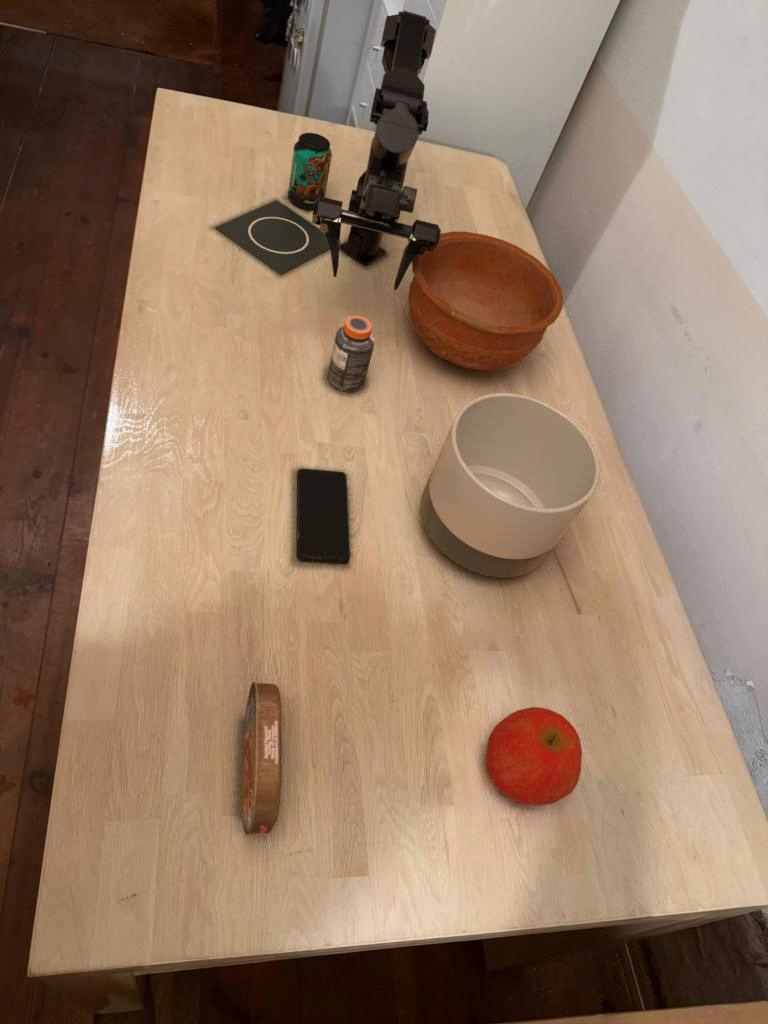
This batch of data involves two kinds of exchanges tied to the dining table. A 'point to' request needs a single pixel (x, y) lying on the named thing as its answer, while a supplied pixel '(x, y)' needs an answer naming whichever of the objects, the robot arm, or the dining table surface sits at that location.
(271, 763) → the tin
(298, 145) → the beverage can
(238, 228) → the slate board
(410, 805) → the dining table surface
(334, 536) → the smartphone
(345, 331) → the pill bottle
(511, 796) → the apple
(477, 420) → the planter
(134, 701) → the dining table surface
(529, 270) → the bowl
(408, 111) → the robot arm
